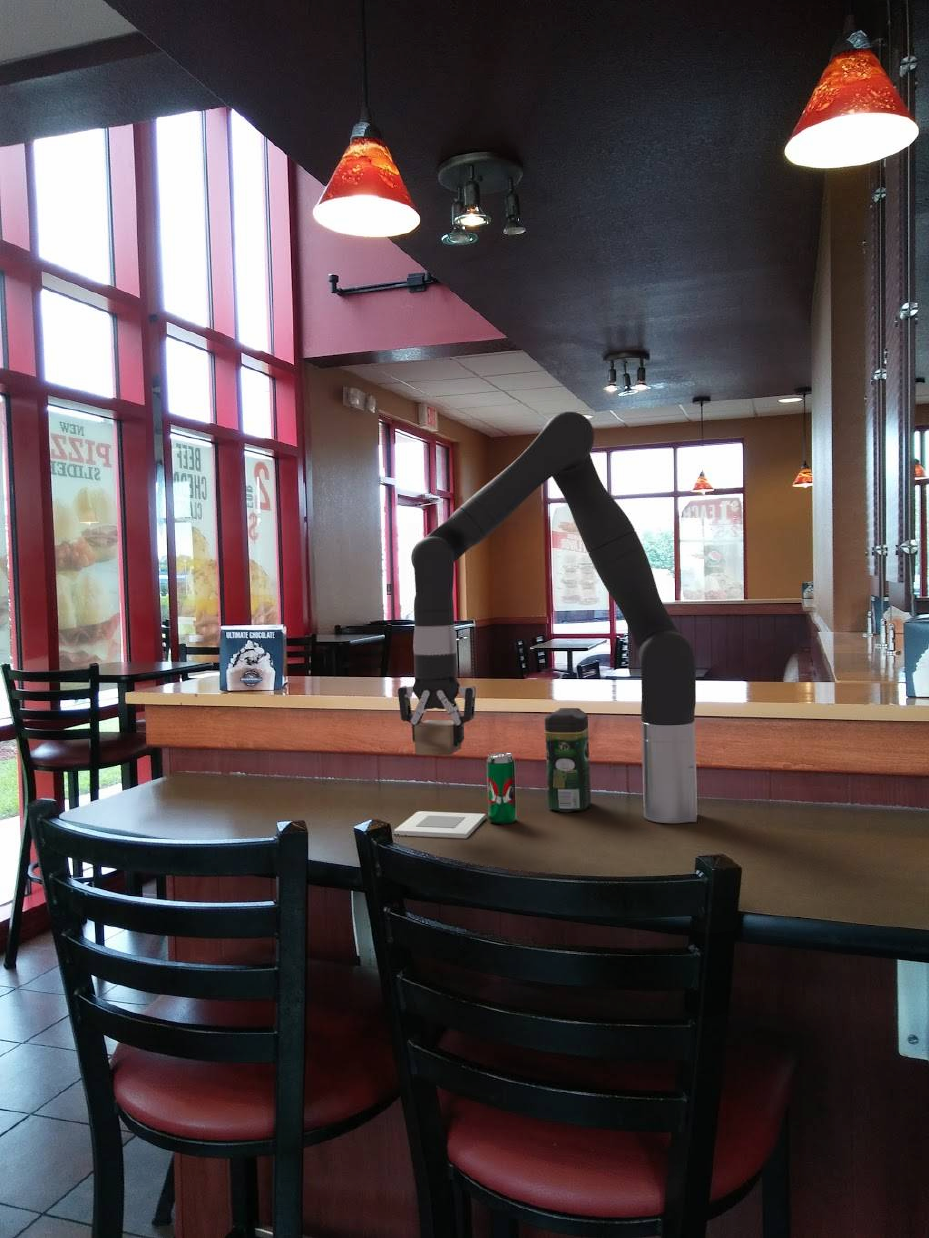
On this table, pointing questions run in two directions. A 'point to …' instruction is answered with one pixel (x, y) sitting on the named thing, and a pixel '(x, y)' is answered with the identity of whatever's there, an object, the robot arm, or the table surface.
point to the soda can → (501, 788)
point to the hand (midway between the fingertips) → (438, 745)
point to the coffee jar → (567, 760)
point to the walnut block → (435, 737)
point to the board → (440, 824)
